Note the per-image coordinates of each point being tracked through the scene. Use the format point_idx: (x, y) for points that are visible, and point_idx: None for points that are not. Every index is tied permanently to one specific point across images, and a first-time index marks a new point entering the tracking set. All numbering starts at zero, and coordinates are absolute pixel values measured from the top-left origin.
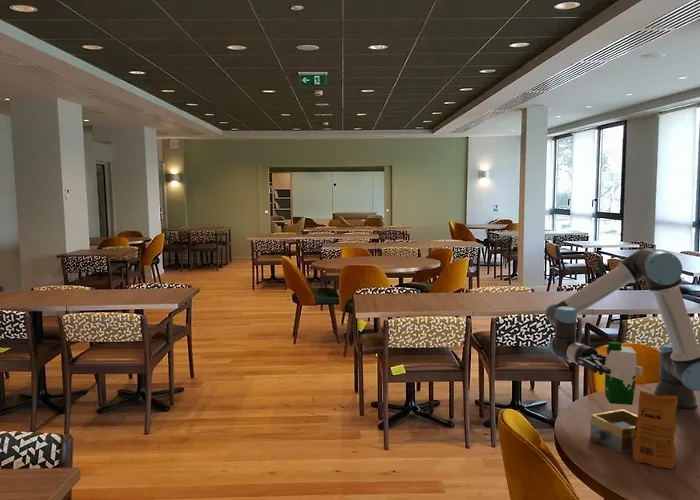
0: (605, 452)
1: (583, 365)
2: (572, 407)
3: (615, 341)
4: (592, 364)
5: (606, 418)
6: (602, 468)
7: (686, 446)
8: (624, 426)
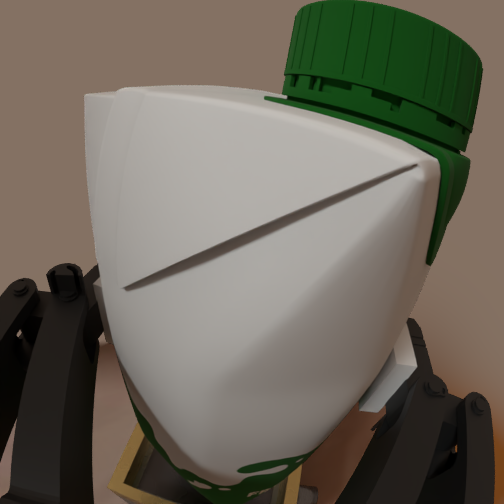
0: (318, 456)
1: None
2: None
3: (329, 4)
4: (490, 436)
5: None
6: (383, 406)
7: (109, 354)
8: None
